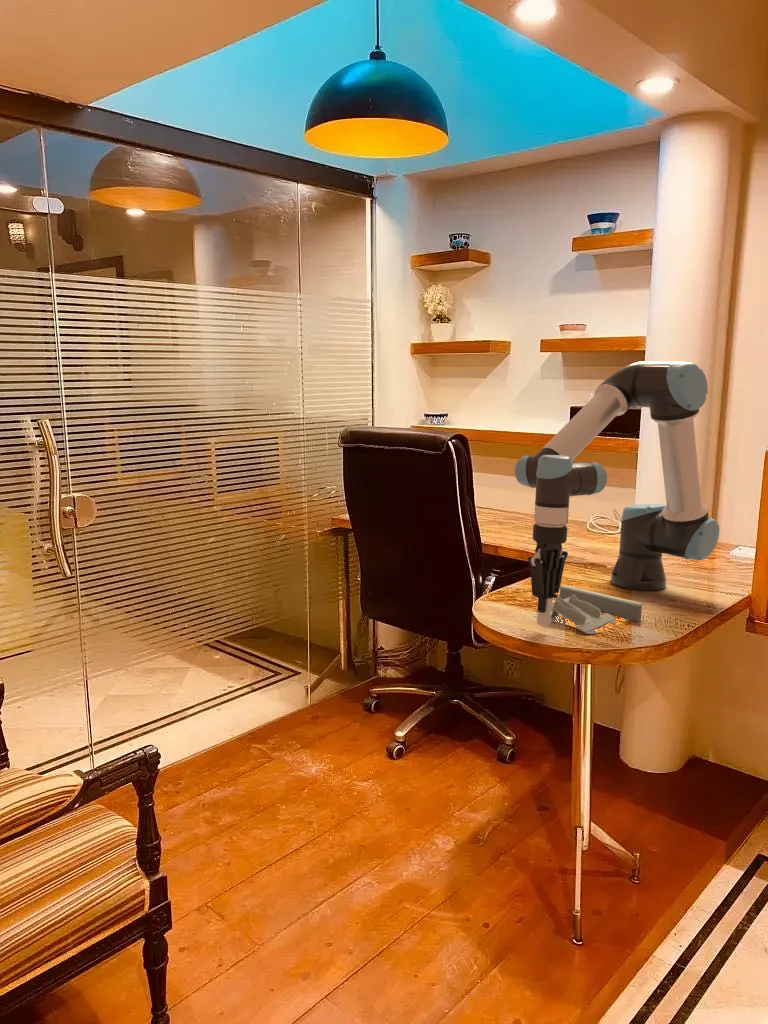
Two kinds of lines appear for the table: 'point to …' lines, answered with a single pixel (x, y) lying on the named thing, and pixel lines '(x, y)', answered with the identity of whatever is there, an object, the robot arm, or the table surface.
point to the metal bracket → (581, 614)
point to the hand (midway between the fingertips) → (543, 624)
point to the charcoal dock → (602, 604)
